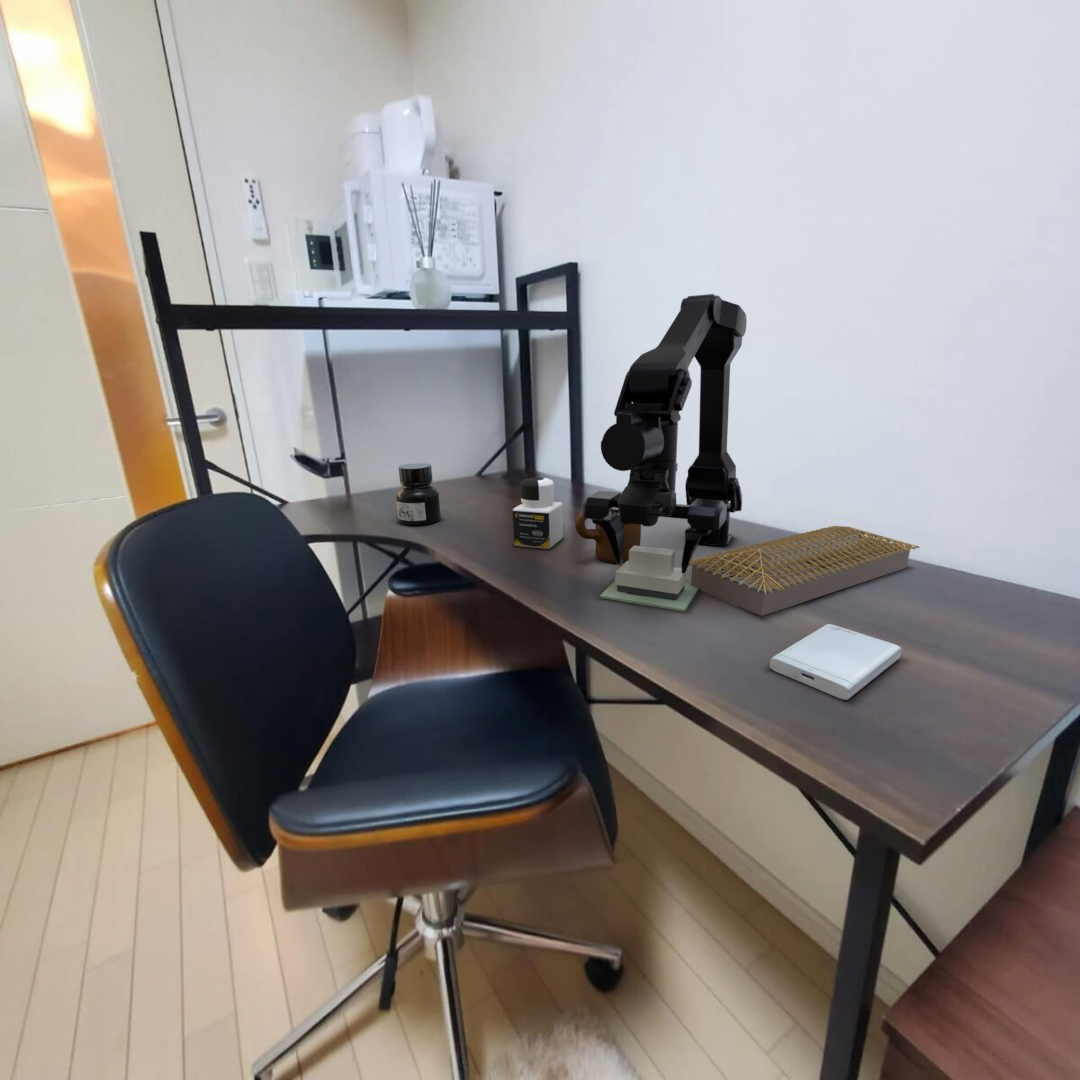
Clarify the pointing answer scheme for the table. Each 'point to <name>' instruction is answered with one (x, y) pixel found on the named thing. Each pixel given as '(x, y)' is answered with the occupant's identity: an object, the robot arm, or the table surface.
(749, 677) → the table surface
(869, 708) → the table surface
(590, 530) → the mug
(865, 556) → the rafter model
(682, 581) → the white stepped block
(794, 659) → the hard drive
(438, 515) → the ink bottle
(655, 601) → the desk mat
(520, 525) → the medicine bottle
